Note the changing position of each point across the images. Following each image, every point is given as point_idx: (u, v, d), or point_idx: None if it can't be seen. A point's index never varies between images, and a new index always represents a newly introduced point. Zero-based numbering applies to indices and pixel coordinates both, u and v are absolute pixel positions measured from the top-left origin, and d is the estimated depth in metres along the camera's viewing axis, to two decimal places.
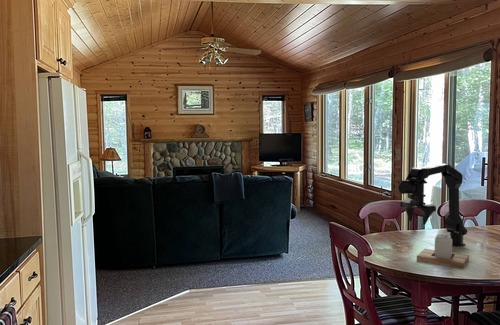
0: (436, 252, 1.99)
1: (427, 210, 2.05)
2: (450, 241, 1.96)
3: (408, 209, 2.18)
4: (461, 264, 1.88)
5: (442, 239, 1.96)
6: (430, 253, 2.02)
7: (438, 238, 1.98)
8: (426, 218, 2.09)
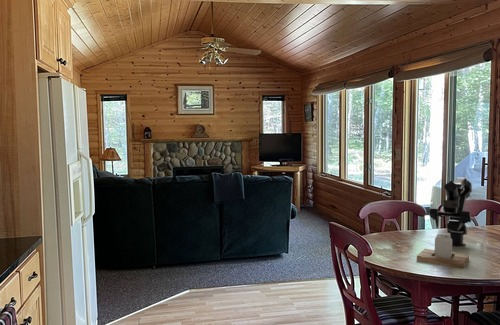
0: (436, 252, 1.99)
1: (469, 214, 2.03)
2: (450, 241, 1.96)
3: (437, 216, 2.11)
4: (461, 264, 1.88)
5: (442, 239, 1.96)
6: (430, 253, 2.02)
7: (438, 238, 1.98)
8: (460, 225, 2.04)
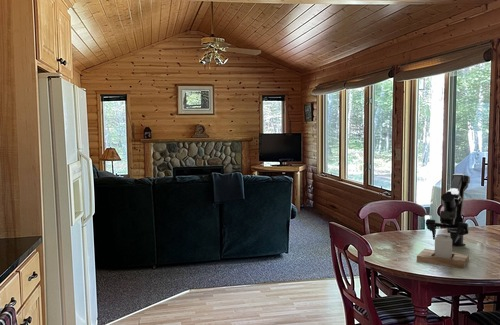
0: (436, 252, 1.99)
1: (466, 225, 1.97)
2: (450, 241, 1.96)
3: (434, 227, 2.06)
4: (461, 264, 1.88)
5: (442, 239, 1.96)
6: (430, 253, 2.02)
7: (438, 238, 1.98)
8: (458, 236, 1.99)
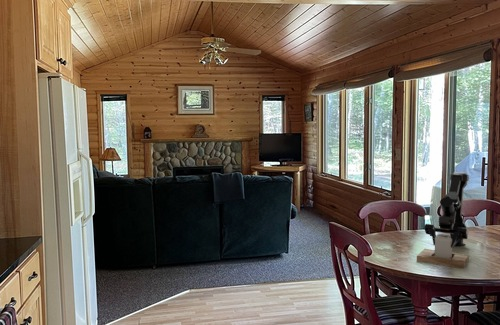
0: (436, 252, 1.99)
1: (465, 230, 1.95)
2: (450, 241, 1.96)
3: (434, 232, 2.03)
4: (461, 264, 1.88)
5: (442, 239, 1.96)
6: (430, 253, 2.02)
7: (438, 238, 1.98)
8: (455, 242, 1.97)
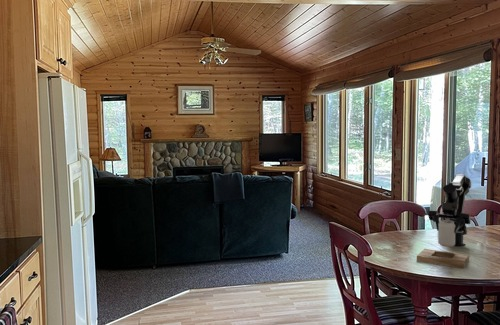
0: (440, 237, 2.04)
1: (468, 216, 2.01)
2: (453, 226, 2.01)
3: (438, 218, 2.09)
4: (461, 264, 1.88)
5: (445, 225, 2.02)
6: (430, 253, 2.02)
7: (442, 224, 2.03)
8: (458, 227, 2.02)
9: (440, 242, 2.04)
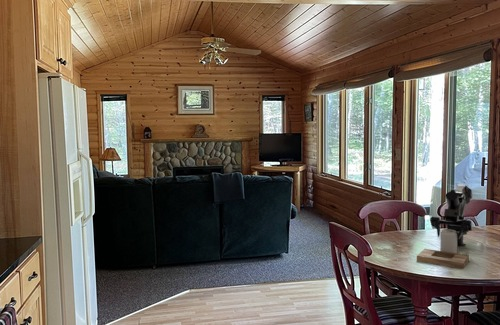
0: (442, 246, 2.09)
1: (470, 222, 2.05)
2: (455, 235, 2.06)
3: (439, 224, 2.14)
4: (461, 264, 1.88)
5: (448, 233, 2.07)
6: (430, 253, 2.02)
7: (444, 233, 2.08)
8: (462, 233, 2.07)
9: None
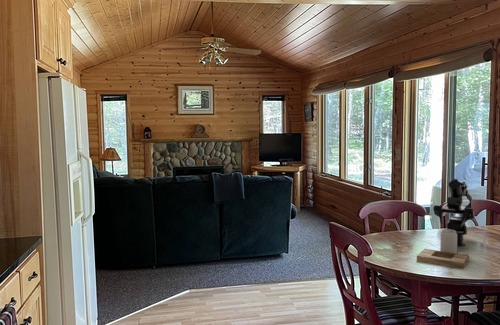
0: (442, 246, 2.09)
1: (472, 210, 2.10)
2: (455, 235, 2.06)
3: (441, 213, 2.18)
4: (461, 264, 1.88)
5: (448, 233, 2.07)
6: (430, 253, 2.02)
7: (444, 233, 2.08)
8: (464, 221, 2.11)
9: None
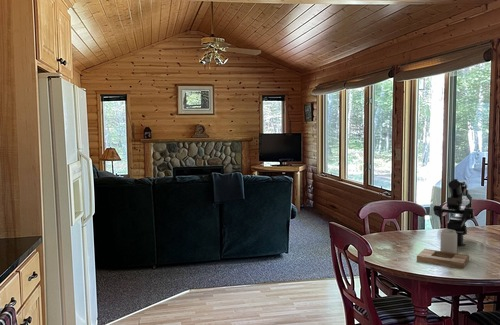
0: (442, 246, 2.09)
1: (472, 210, 2.10)
2: (455, 235, 2.06)
3: (441, 213, 2.18)
4: (461, 264, 1.88)
5: (448, 233, 2.07)
6: (430, 253, 2.02)
7: (444, 233, 2.08)
8: (464, 221, 2.11)
9: None
